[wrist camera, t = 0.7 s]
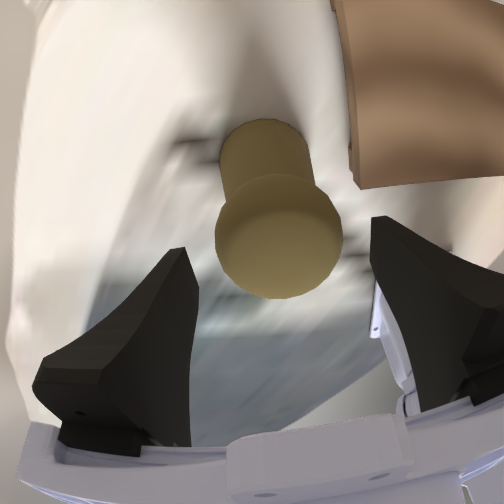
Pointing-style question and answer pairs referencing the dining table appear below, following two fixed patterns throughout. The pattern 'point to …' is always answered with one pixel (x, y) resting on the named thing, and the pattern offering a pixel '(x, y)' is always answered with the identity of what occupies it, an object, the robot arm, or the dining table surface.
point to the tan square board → (423, 89)
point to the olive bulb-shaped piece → (274, 213)
